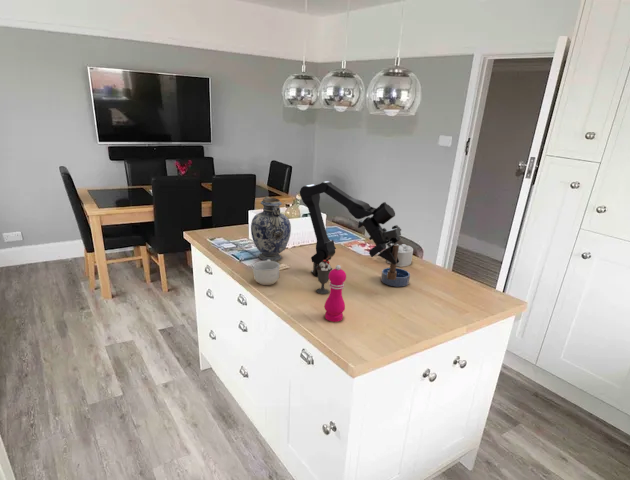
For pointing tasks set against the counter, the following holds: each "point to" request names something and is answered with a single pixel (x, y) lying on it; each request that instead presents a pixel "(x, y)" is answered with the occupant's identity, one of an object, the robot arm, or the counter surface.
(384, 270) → the bowl
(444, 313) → the counter surface
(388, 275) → the stirring stick
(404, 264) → the lumpy-topped squat cylinder
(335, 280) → the pepper mill
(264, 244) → the decorative vase
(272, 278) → the teacup
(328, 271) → the sundae
